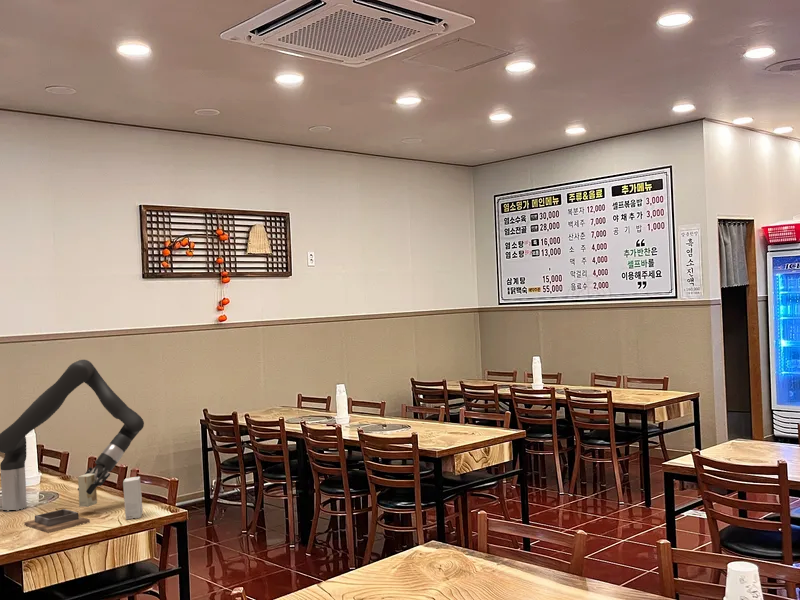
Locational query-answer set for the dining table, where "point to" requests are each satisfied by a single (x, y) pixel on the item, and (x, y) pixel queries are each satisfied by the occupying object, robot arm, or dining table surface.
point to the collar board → (56, 520)
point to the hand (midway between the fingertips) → (83, 492)
